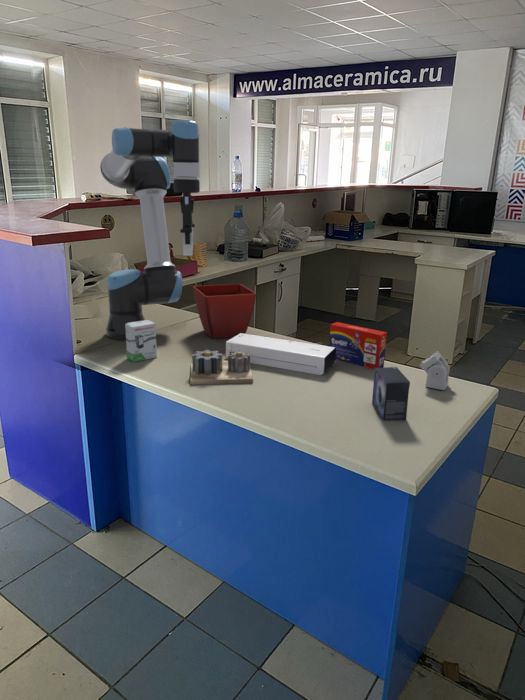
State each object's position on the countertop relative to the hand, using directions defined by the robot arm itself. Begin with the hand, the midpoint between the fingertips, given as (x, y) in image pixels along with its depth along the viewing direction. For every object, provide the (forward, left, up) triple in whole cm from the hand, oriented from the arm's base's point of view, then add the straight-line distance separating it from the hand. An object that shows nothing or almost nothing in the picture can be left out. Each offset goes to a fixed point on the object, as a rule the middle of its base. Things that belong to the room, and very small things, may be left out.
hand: (188, 252), depth 160 cm
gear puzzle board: (+13, +9, -35) cm, 38 cm away
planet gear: (+13, +5, -34) cm, 36 cm away
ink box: (-3, -16, -35) cm, 39 cm away
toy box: (+6, +53, -35) cm, 64 cm away
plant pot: (-29, +12, -35) cm, 47 cm away
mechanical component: (+27, +70, -35) cm, 83 cm away
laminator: (+4, +28, -35) cm, 45 cm away
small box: (+43, +51, -35) cm, 75 cm away
